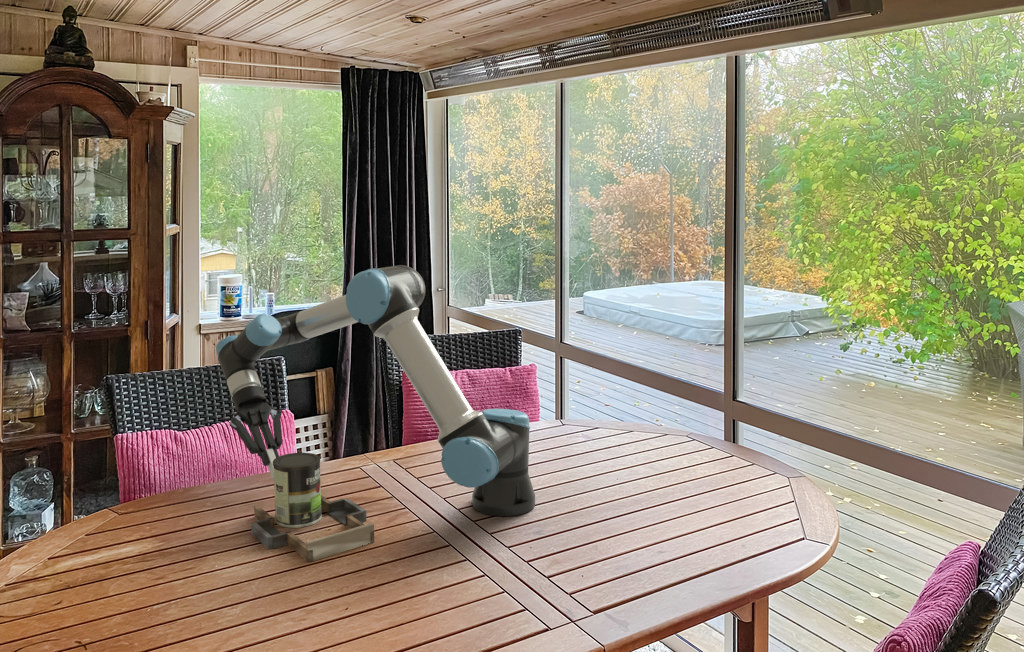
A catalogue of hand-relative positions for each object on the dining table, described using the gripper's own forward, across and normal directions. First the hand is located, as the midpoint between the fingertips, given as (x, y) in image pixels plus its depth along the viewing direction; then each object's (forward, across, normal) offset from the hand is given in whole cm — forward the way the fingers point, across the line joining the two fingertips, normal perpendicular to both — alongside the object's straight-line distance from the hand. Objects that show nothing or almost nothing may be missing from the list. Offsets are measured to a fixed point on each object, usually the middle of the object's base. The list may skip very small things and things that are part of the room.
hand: (276, 475), depth 184 cm
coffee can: (+13, 0, +3) cm, 13 cm away
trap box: (+17, 0, +7) cm, 19 cm away
